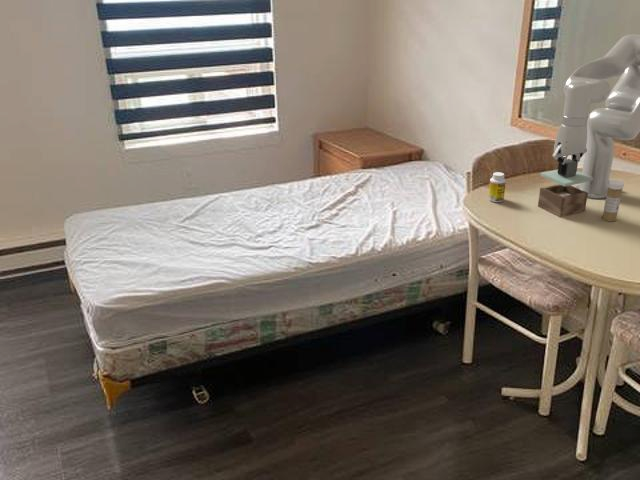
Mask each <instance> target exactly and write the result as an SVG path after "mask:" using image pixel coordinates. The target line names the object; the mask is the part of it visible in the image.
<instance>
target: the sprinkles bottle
mask: <svg viewBox="0 0 640 480" xmlns="http://www.w3.org/2000/svg"><path fill="white" fill-rule="evenodd" d="M624 184H625V183H624V181H622V180H619V179H611V180H610V179H609V183H608V192H607V196H606V198H605V202H604V206H603V207H604V208H603V213H602V216H601V217H602V219H603V220H604V221H607V222H615V221H617V219H618V213H619V211H620V210H619V209H620V204H621V201H622V200H621V198H622V193H623V189H624Z"/></svg>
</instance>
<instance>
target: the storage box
mask: <svg viewBox="0 0 640 480" xmlns="http://www.w3.org/2000/svg"><path fill="white" fill-rule="evenodd" d="M575 187H576V186H574V185H569V186H563V185H560V184H558V183H557V184H553V185H549V186H543V187H540V188H539V194H538V195H539V196H538V201H537V207H538V208H540V209H543V210H545V211H546V212H548V213H551V214H553V215H554V216H556V217H558V218H562V217H566V216H571V215H576V214H580V213H585V212H586V206H587V201H588V200H587V199H588V197H587V196H588V193H587V192H585V191H582V190H580V189H578V188H575Z"/></svg>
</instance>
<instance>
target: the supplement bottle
mask: <svg viewBox="0 0 640 480" xmlns="http://www.w3.org/2000/svg"><path fill="white" fill-rule="evenodd" d="M506 182H507V180H506V178H505V173H503V172H499V171H497V172H493V174H492V177H491V178H490V180H489V187H488V188H489V189H488V201H490V202H493V203H502V202H503V201H504V200H505V191H506V184H507V183H506Z"/></svg>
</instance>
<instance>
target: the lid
mask: <svg viewBox="0 0 640 480" xmlns="http://www.w3.org/2000/svg"><path fill="white" fill-rule="evenodd" d="M566 164H567V167H566V174H565V175H564V176H563V175H561V174H558V168H557V169H554V170H552V169H551V170H549V171H548V170H547V171H543V172H540V173H539V175H540V177H542V178H545V179H547V180H550V181H551V182H554V183H556V184H557V185H558V184H560V185H563V186H569V185H571V186H574V185H580V183H583V182H588V181H592V180H593V177H590V176H588V175H585V174H583V173H582V171H578V166H577V162H576V161H573V160H572V159H571V158H567V161H566ZM576 169H577V172H576Z"/></svg>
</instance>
